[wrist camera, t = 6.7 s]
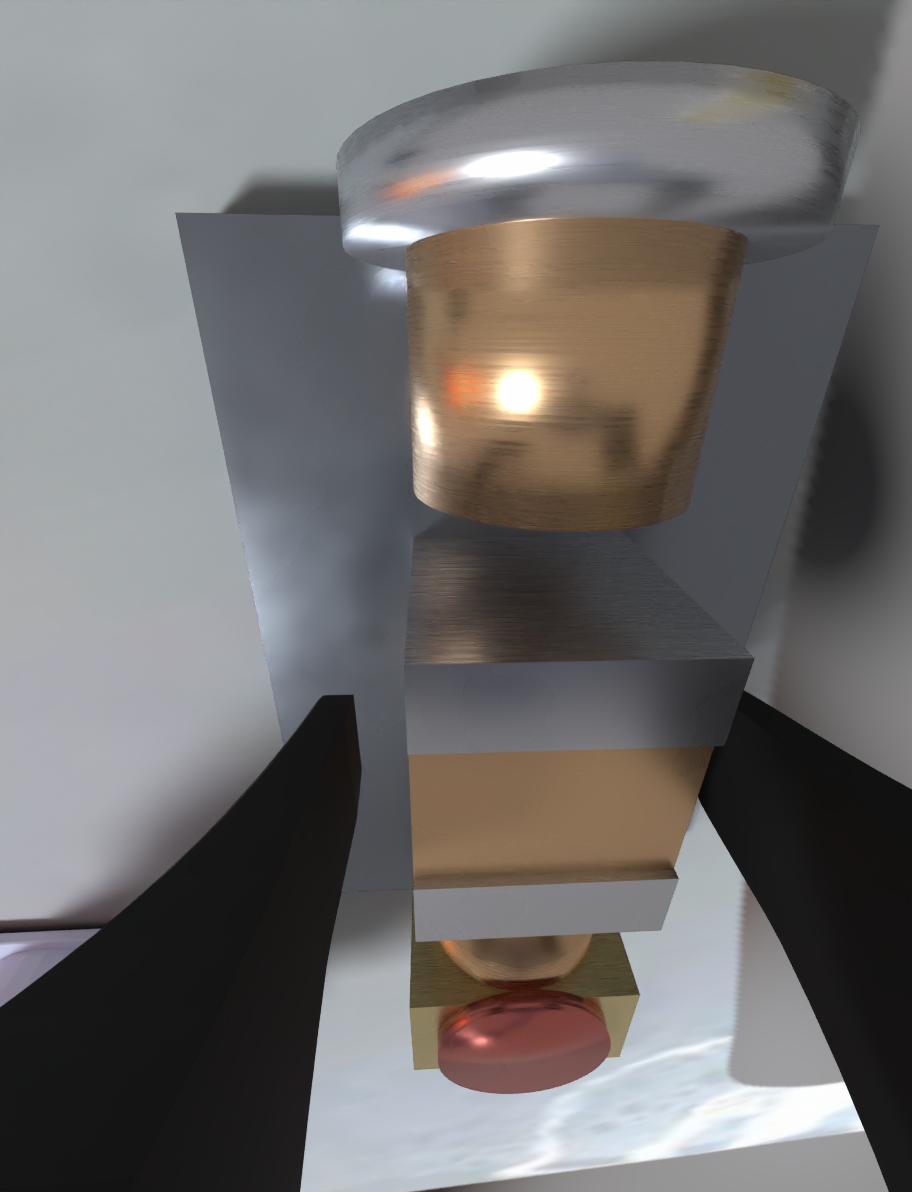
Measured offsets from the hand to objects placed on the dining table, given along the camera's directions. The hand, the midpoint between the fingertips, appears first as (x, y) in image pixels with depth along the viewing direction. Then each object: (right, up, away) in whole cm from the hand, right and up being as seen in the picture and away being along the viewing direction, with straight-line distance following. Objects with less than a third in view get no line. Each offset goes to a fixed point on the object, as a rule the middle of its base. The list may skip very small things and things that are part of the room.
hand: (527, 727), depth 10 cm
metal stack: (0, +2, +3) cm, 4 cm away
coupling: (0, +1, +2) cm, 2 cm away
